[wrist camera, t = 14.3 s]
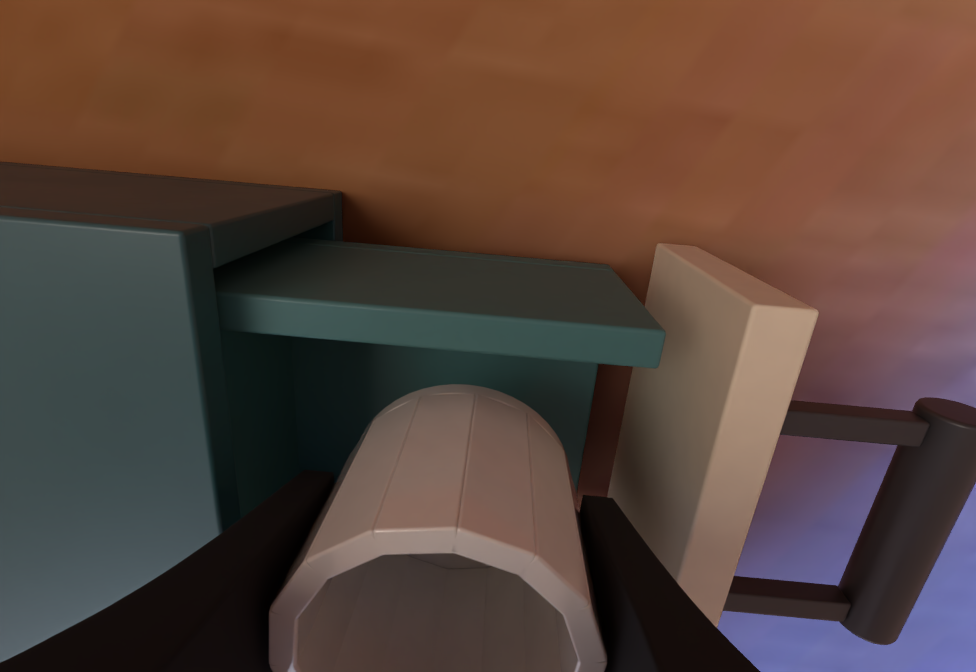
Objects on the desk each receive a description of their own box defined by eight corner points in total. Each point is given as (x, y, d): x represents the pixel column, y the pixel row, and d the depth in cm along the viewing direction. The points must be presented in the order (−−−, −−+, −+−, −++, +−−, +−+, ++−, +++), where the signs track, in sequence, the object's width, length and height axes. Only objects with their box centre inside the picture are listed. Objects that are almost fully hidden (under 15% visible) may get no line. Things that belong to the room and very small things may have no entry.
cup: (617, 459, 11) (680, 640, 7) (488, 597, 13) (477, 811, 9) (428, 337, 11) (374, 462, 6) (314, 501, 12) (212, 687, 8)
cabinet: (342, 191, 16) (182, 231, 8) (349, 500, 20) (247, 723, 12) (-95, 153, 16) (-664, 157, 8) (1, 468, 20) (-316, 669, 12)
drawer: (865, 260, 15) (1103, 334, 9) (768, 542, 18) (890, 729, 12) (273, 209, 15) (117, 248, 9) (293, 498, 19) (191, 662, 13)
